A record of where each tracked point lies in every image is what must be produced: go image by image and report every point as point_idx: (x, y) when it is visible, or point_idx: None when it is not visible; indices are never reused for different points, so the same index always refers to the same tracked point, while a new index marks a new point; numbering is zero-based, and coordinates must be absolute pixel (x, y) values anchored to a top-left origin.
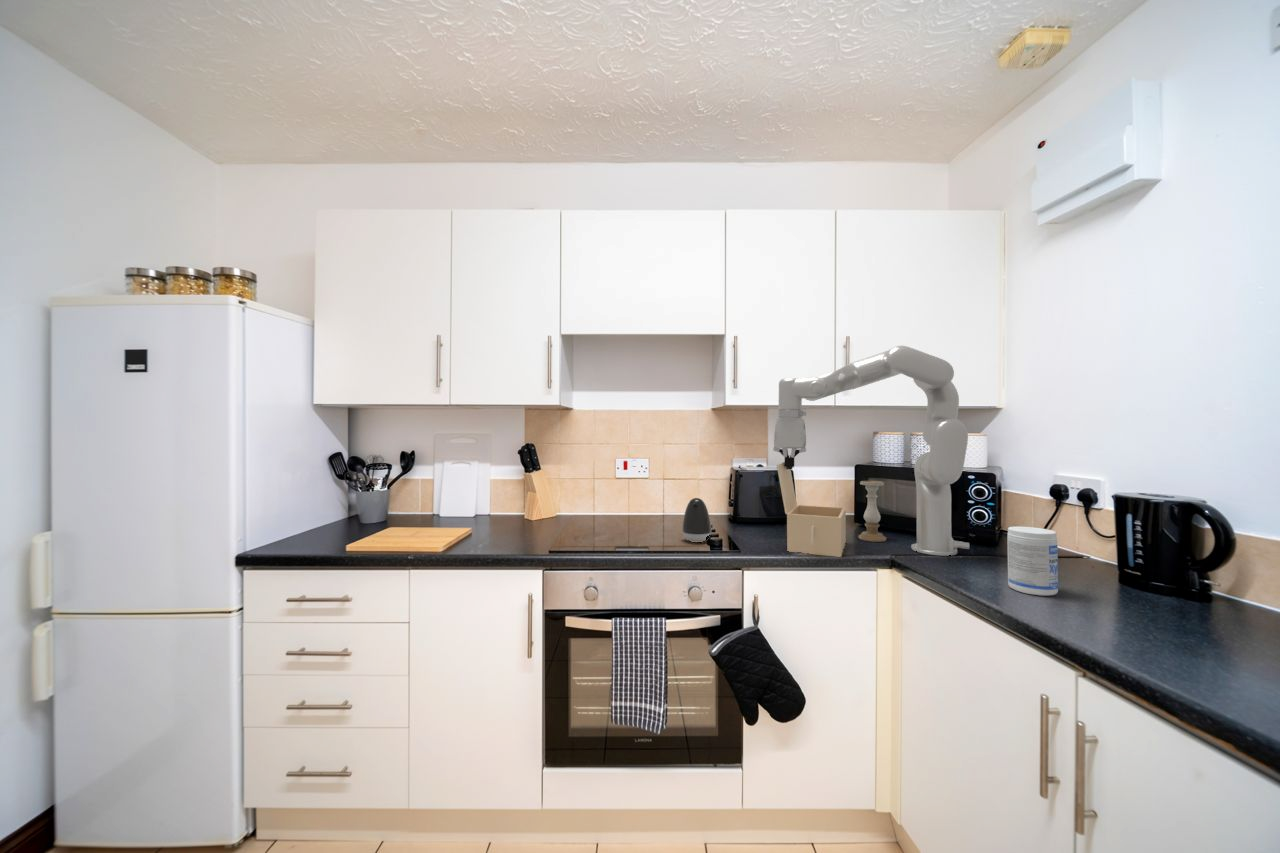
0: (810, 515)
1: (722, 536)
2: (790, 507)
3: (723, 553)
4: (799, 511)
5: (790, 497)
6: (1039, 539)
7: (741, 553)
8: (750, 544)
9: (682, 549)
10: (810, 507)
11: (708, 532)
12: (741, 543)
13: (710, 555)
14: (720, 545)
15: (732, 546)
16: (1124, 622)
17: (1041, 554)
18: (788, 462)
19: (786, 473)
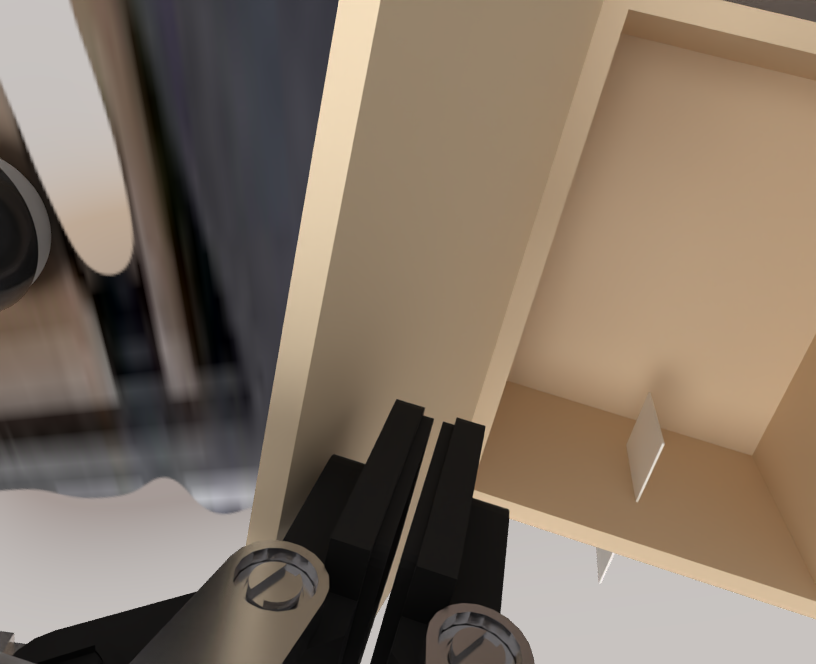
0: (617, 547)
1: (99, 49)
2: (490, 347)
3: (183, 440)
4: (628, 14)
5: (493, 289)
6: None
7: (258, 434)
8: (284, 244)
9: (4, 390)
10: (752, 40)
11: (31, 279)
12: (234, 227)
13: (139, 475)
14: (139, 291)
15: (199, 304)
16: None
17: None
18: (369, 631)
19: (395, 365)
